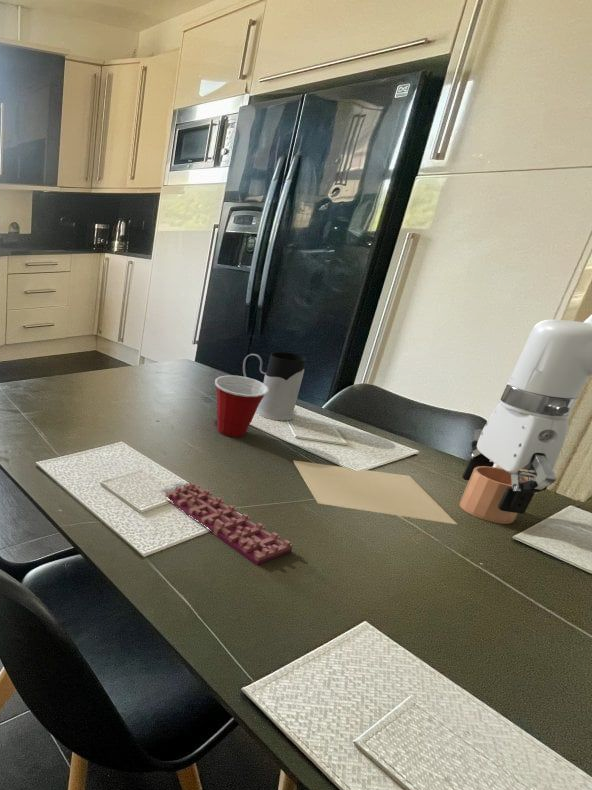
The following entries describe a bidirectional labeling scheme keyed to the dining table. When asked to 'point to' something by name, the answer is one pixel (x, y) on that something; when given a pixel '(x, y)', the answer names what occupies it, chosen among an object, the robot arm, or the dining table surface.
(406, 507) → the mat
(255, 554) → the maroon flat bar
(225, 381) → the plastic cup
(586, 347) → the robot arm
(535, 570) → the dining table surface
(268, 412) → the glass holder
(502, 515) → the peach cup
